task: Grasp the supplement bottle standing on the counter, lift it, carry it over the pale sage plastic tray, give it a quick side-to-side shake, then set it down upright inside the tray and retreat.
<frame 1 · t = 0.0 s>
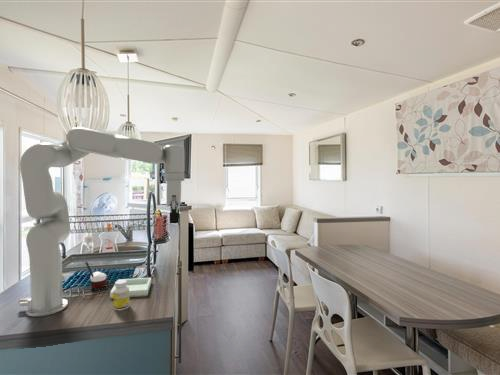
hand: (174, 220, 115), 31 cm above the worktop, tool pointing down, fingers open, 9 cm apart
supplement bottle: (121, 308, 109), on the worktop
cocoa: (97, 287, 127), on the worktop
tray: (132, 290, 124), on the worktop
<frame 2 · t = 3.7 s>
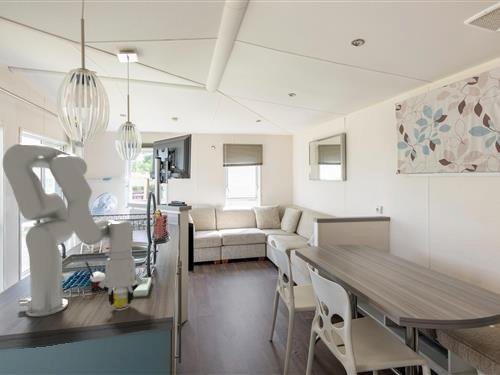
hand: (121, 302, 108), 2 cm above the worktop, tool pointing down, fingers closed on supplement bottle, 5 cm apart
supplement bottle: (121, 308, 109), on the worktop, touching gripper
everything else where it was.
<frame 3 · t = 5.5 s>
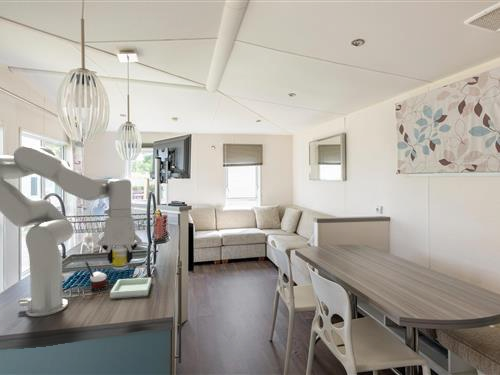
hand: (120, 261, 108), 17 cm above the worktop, tool pointing down, fingers closed on supplement bottle, 5 cm apart
supplement bottle: (120, 267, 108), point 15 cm above the worktop, touching gripper
everything else where it was.
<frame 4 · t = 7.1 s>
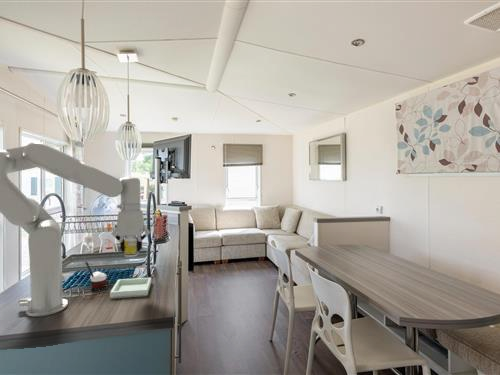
hand: (131, 250, 122), 17 cm above the worktop, tool pointing down, fingers closed on supplement bottle, 5 cm apart
supplement bottle: (131, 255, 122), point 15 cm above the worktop, touching gripper
everything else where it was.
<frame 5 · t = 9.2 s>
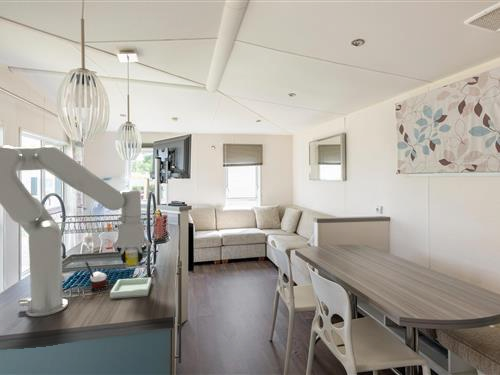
hand: (132, 261, 124), 12 cm above the worktop, tool pointing down, fingers closed on supplement bottle, 5 cm apart
supplement bottle: (132, 266, 124), point 10 cm above the worktop, touching gripper
everything else where it was.
when the fingers open (4 cm above the worktop, at t = 11.0 s): supplement bottle drops 1 cm, resting on tray.
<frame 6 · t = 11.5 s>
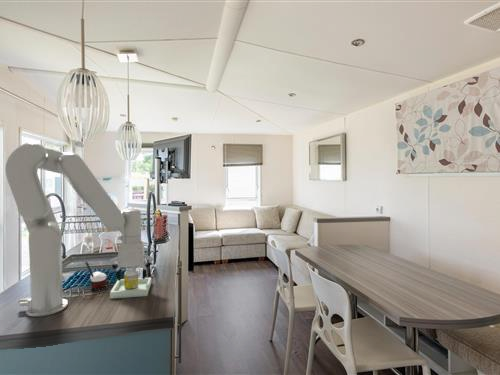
hand: (132, 278, 124), 5 cm above the worktop, tool pointing down, fingers open, 9 cm apart
supplement bottle: (131, 289, 124), resting on tray
everything else where it was.
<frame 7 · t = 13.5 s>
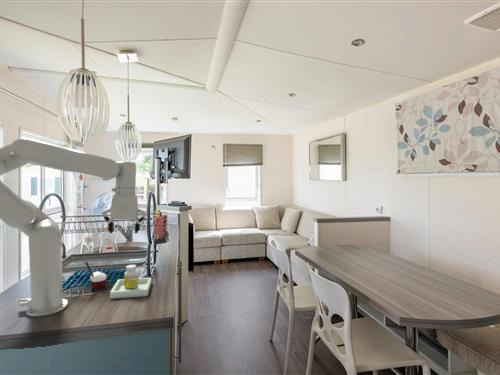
hand: (124, 232, 121), 25 cm above the worktop, tool pointing down, fingers open, 9 cm apart
nothing on the worktop moved.
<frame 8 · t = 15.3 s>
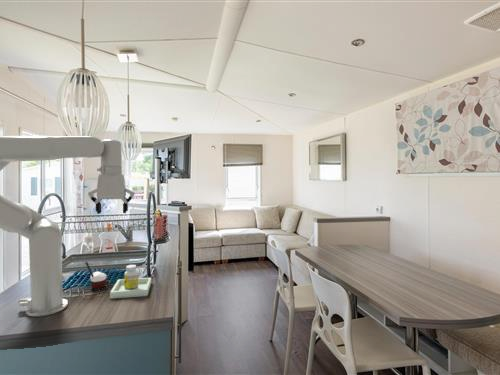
hand: (112, 213, 119), 33 cm above the worktop, tool pointing down, fingers open, 9 cm apart
nothing on the worktop moved.
at the end: supplement bottle inside the target area on the tray (0.3 cm from its centre), point 0.4 cm above the tray's base; supplement bottle tilted 0°; the gripper is holding nothing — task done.
